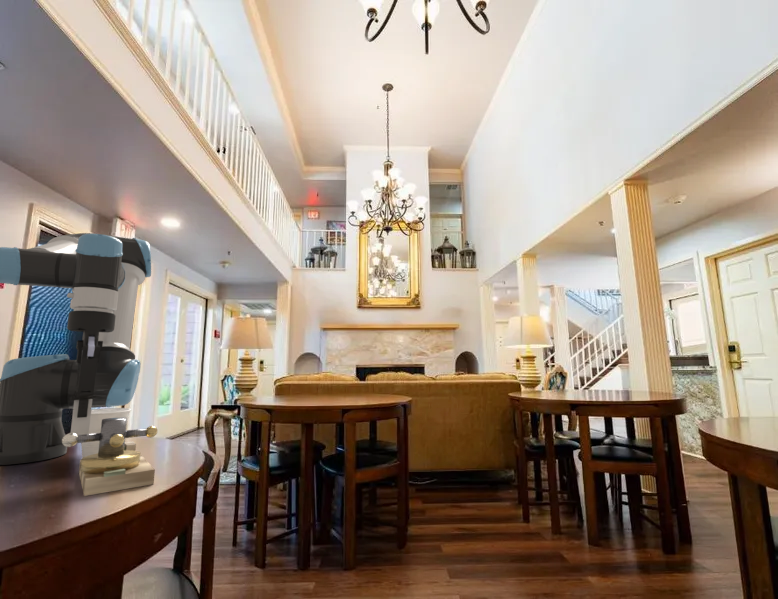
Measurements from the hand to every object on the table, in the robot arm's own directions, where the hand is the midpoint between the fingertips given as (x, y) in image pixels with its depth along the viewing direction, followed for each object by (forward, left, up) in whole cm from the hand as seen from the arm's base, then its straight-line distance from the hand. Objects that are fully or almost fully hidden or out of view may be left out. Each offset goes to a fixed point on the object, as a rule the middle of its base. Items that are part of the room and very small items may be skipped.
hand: (79, 434), depth 76 cm
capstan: (+5, +5, -5) cm, 9 cm away
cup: (-13, +5, -8) cm, 16 cm away
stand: (+4, +6, -8) cm, 11 cm away
